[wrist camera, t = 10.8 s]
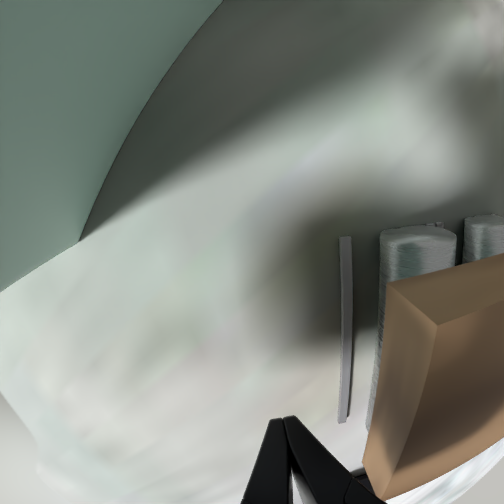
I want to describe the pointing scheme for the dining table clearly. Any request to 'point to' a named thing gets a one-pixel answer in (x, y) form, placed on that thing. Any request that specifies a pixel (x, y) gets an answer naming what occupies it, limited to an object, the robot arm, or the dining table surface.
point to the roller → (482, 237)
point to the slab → (438, 375)
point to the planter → (73, 108)
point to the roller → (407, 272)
